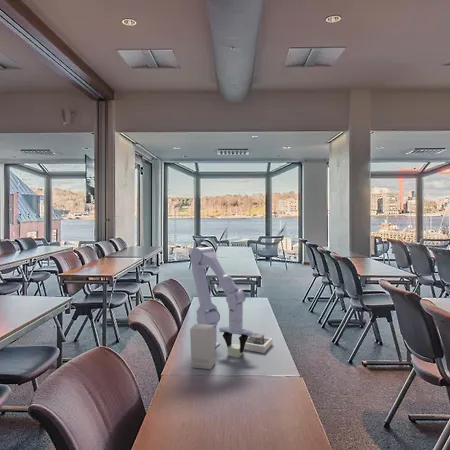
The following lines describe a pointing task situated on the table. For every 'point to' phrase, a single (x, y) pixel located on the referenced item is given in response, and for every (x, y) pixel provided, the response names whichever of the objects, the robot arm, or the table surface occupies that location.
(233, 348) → the pale green box
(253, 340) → the metal block
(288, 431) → the table surface
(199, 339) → the skincare box
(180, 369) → the table surface
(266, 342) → the box
